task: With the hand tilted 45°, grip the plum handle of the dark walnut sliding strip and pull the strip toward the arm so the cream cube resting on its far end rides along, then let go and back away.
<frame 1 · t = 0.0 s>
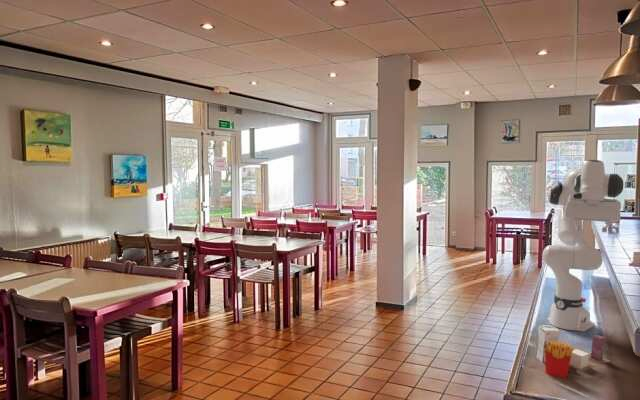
hand: (591, 231, 203), 52 cm above the counter, tool tilted 20°, fingers open, 8 cm apart
syrup box: (545, 363, 200), on the counter
cream cube: (577, 364, 196), point 1 cm above the counter, touching walnut strip
french fries: (556, 377, 188), on the counter
walnut strip: (584, 353, 198), point 5 cm above the counter, slide at 0.0 cm, touching cream cube
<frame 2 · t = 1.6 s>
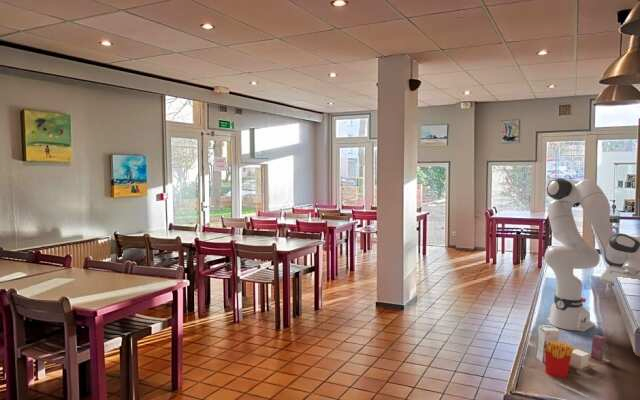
hand: (618, 295, 207), 25 cm above the counter, tool tilted 45°, fingers open, 8 cm apart
nothing on the counter moved.
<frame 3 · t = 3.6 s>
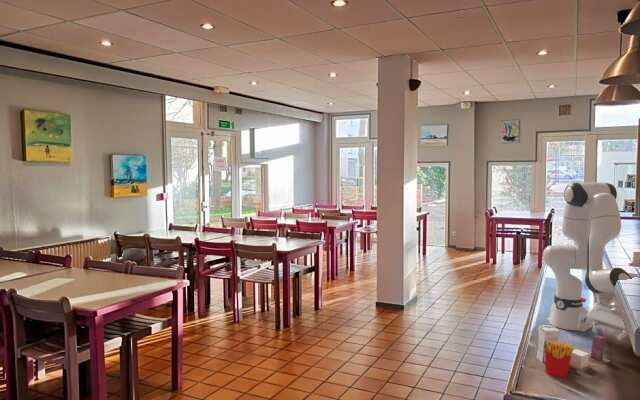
hand: (605, 335, 204), 10 cm above the counter, tool tilted 45°, fingers open, 8 cm apart
nothing on the counter moved.
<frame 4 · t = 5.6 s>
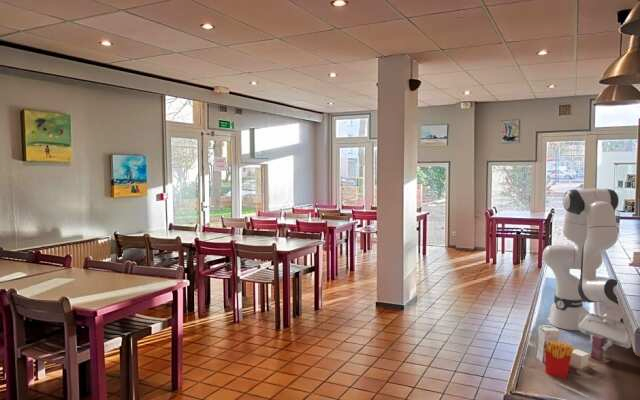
hand: (596, 347, 202), 6 cm above the counter, tool tilted 45°, fingers closed on walnut strip, 3 cm apart
walnut strip: (584, 353, 198), point 5 cm above the counter, slide at 0.0 cm, touching cream cube, gripper
everything else where it was.
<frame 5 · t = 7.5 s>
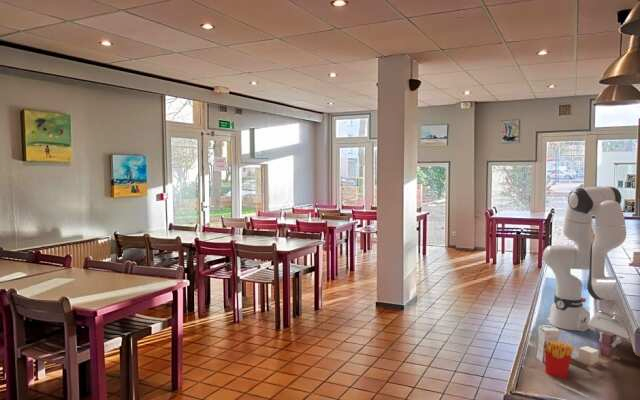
hand: (606, 344, 206), 6 cm above the counter, tool tilted 45°, fingers closed on walnut strip, 3 cm apart
cream cube: (587, 361, 200), point 1 cm above the counter, touching walnut strip
walnut strip: (594, 349, 201), point 5 cm above the counter, slide at 6.8 cm, touching cream cube, gripper
everything else where it was.
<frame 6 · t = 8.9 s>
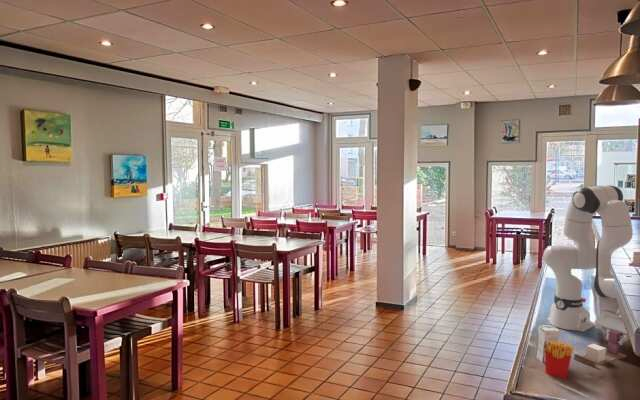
hand: (613, 342, 209), 6 cm above the counter, tool tilted 45°, fingers closed on walnut strip, 3 cm apart
cream cube: (595, 358, 203), point 1 cm above the counter, touching walnut strip
walnut strip: (601, 347, 204), point 5 cm above the counter, slide at 11.9 cm, touching cream cube, gripper
everything else where it was.
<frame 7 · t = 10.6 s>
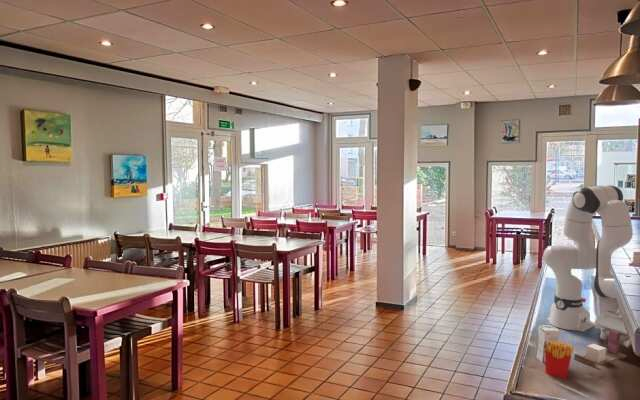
hand: (613, 342, 209), 6 cm above the counter, tool tilted 45°, fingers open, 8 cm apart
walnut strip: (601, 347, 204), point 5 cm above the counter, slide at 12.0 cm, touching cream cube
everything else where it was.
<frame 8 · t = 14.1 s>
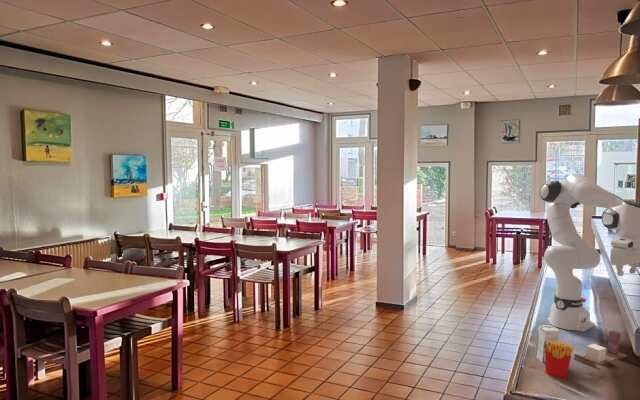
hand: (626, 274, 208), 34 cm above the counter, tool pointing down, fingers open, 8 cm apart
nothing on the counter moved.
at the end: walnut strip slide at 12.0 cm; cream cube inside the target area (0.5 cm from its centre), point 1.2 cm above the counter; cream cube touching walnut strip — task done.
